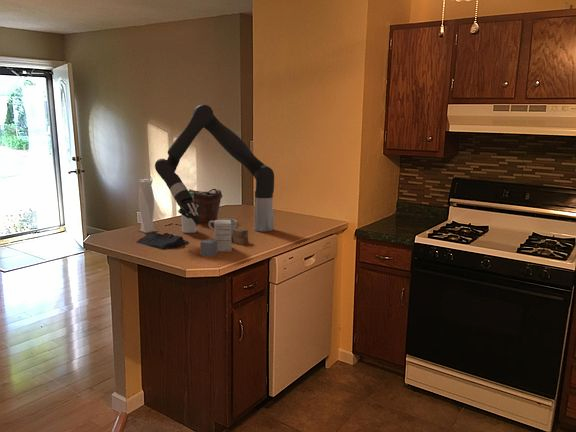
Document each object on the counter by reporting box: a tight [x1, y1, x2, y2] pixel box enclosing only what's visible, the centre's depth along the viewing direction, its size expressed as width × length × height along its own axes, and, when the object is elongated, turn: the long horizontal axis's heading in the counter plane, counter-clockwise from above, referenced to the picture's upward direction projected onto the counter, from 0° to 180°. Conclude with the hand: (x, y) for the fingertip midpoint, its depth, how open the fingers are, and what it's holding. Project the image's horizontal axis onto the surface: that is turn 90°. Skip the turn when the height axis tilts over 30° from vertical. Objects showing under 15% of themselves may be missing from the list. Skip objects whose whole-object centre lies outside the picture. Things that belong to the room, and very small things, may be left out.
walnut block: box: [232, 227, 249, 245], centre depth 233 cm, size 5×5×6 cm
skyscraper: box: [138, 176, 159, 234], centre depth 248 cm, size 8×8×28 cm
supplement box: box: [213, 219, 232, 253], centre depth 220 cm, size 7×7×13 cm
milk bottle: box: [180, 192, 198, 234], centre depth 250 cm, size 8×8×20 cm
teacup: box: [207, 218, 238, 238], centre depth 243 cm, size 14×11×8 cm
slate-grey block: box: [199, 239, 218, 258], centre depth 212 cm, size 5×5×6 cm
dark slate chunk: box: [136, 232, 189, 251], centre depth 229 cm, size 15×22×5 cm
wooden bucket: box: [188, 188, 223, 223], centre depth 278 cm, size 18×20×18 cm
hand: (199, 223), depth 229 cm, fingers closed
